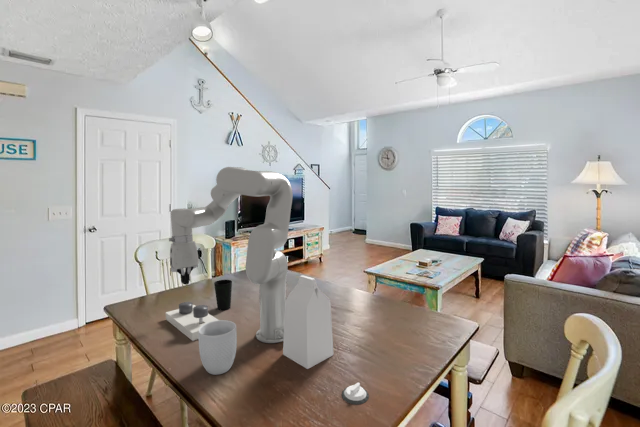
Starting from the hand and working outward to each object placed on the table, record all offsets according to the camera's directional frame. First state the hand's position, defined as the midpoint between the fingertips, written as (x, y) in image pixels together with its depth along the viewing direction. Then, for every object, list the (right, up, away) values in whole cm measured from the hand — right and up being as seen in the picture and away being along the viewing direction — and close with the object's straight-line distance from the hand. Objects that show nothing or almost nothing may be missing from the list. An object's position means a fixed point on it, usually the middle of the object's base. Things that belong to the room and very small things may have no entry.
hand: (185, 283), depth 134 cm
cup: (+12, -14, +14) cm, 23 cm away
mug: (+24, -19, -33) cm, 45 cm away
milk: (+51, -18, -26) cm, 60 cm away
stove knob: (+64, -20, -47) cm, 82 cm away
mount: (+5, -16, -3) cm, 17 cm away
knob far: (0, -15, +2) cm, 15 cm away
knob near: (+9, -13, -9) cm, 18 cm away
